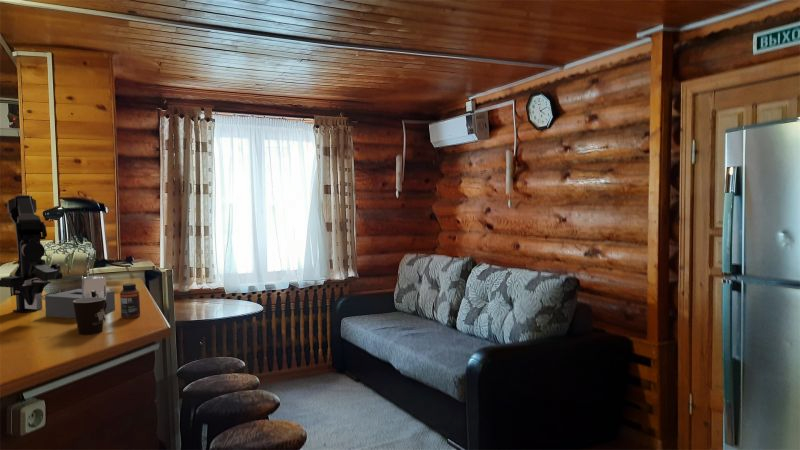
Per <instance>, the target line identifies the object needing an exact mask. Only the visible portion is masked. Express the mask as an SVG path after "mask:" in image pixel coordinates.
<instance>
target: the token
mask: <svg viewBox="0 0 800 450" xmlns="http://www.w3.org/2000/svg"><path fill="white" fill-rule="evenodd" d="M42 294H43V292H42V293H33V292H32V305H28V303H27V302H26V300H25V309H39V310H42V309H43V295H42ZM41 308H42V309H41Z"/></svg>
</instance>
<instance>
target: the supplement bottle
mask: <svg viewBox="0 0 800 450" xmlns="http://www.w3.org/2000/svg"><path fill="white" fill-rule="evenodd" d="M119 296H120V297H119V299H120V300H119V301H120V302H119V303H120V316H121V318H122V319H125V318H126V319H127V318H129V319H136V318H139V317H141V302H140V299H141V298H140V290H139V289H137V285H136V283H132V282H131V283H130V282H129V283H123V284H122V290H121V291H120V293H119ZM135 317H136V318H135ZM127 320H128V319H127Z"/></svg>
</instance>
